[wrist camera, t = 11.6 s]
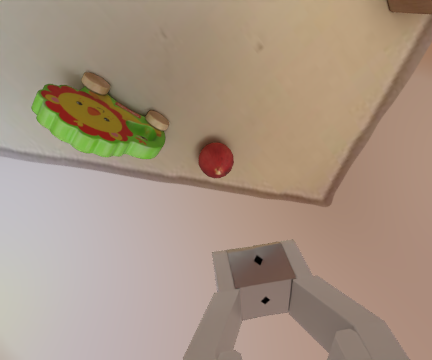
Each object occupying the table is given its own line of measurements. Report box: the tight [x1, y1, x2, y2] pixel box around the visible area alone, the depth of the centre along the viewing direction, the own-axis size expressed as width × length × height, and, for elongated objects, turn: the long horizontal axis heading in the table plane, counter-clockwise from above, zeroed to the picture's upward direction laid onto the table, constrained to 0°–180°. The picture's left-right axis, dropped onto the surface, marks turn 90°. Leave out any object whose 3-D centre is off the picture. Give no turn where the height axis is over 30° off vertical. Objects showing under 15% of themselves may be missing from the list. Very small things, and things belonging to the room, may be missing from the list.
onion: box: [199, 143, 234, 178], centre depth 46 cm, size 6×6×8 cm
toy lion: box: [32, 72, 169, 159], centre depth 37 cm, size 16×5×15 cm, turn 54°
